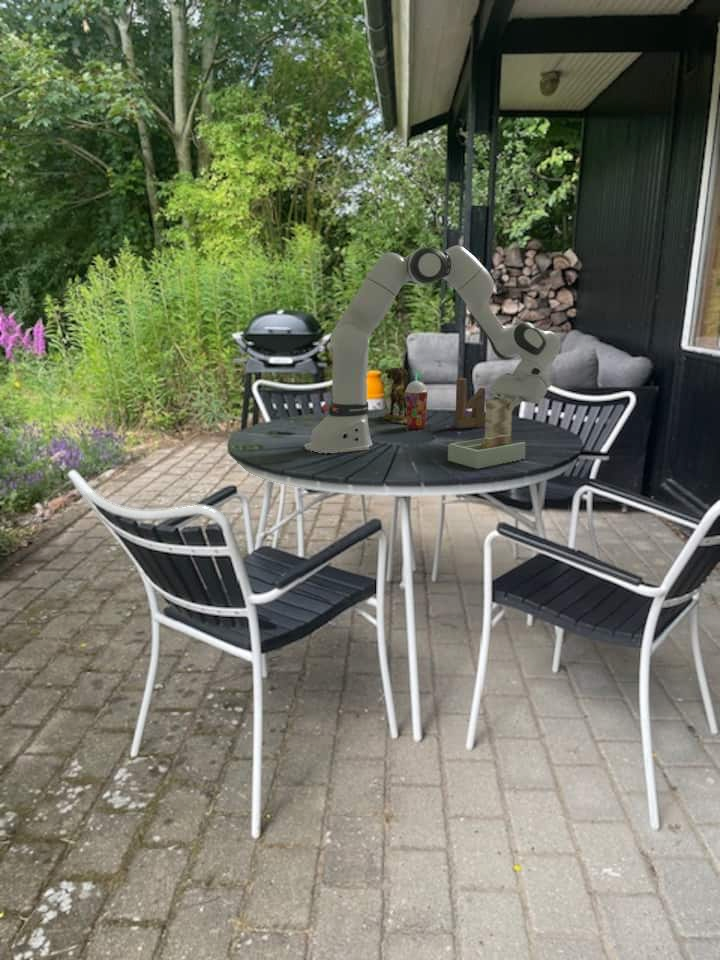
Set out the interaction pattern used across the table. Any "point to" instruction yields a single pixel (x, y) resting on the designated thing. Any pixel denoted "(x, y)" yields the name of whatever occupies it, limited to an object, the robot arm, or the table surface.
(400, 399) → the figurine
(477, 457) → the rack
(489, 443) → the offcut stack
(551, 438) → the table surface
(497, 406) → the beige brown rectangular slab
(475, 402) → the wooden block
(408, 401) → the smoothie
